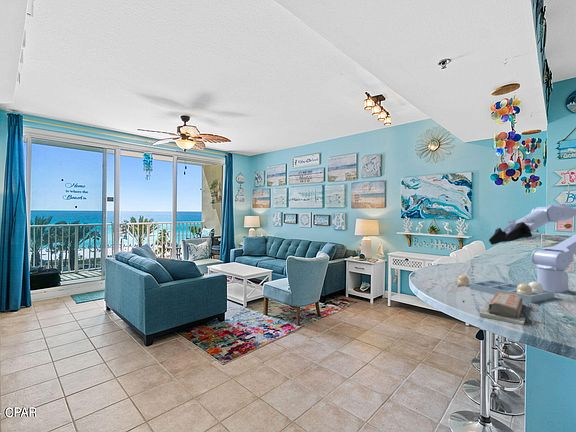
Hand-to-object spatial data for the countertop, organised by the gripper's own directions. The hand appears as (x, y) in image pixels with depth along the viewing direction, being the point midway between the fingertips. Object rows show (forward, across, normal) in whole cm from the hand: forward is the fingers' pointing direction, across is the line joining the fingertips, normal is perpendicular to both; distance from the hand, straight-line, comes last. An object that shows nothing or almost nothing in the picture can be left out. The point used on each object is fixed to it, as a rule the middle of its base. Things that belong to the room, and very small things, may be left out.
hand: (498, 240), depth 101 cm
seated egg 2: (0, 0, +22) cm, 22 cm away
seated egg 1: (+6, +2, +19) cm, 20 cm away
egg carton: (+5, -5, +19) cm, 20 cm away
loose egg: (+10, -18, +13) cm, 24 cm away
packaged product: (+21, +11, +16) cm, 29 cm away
